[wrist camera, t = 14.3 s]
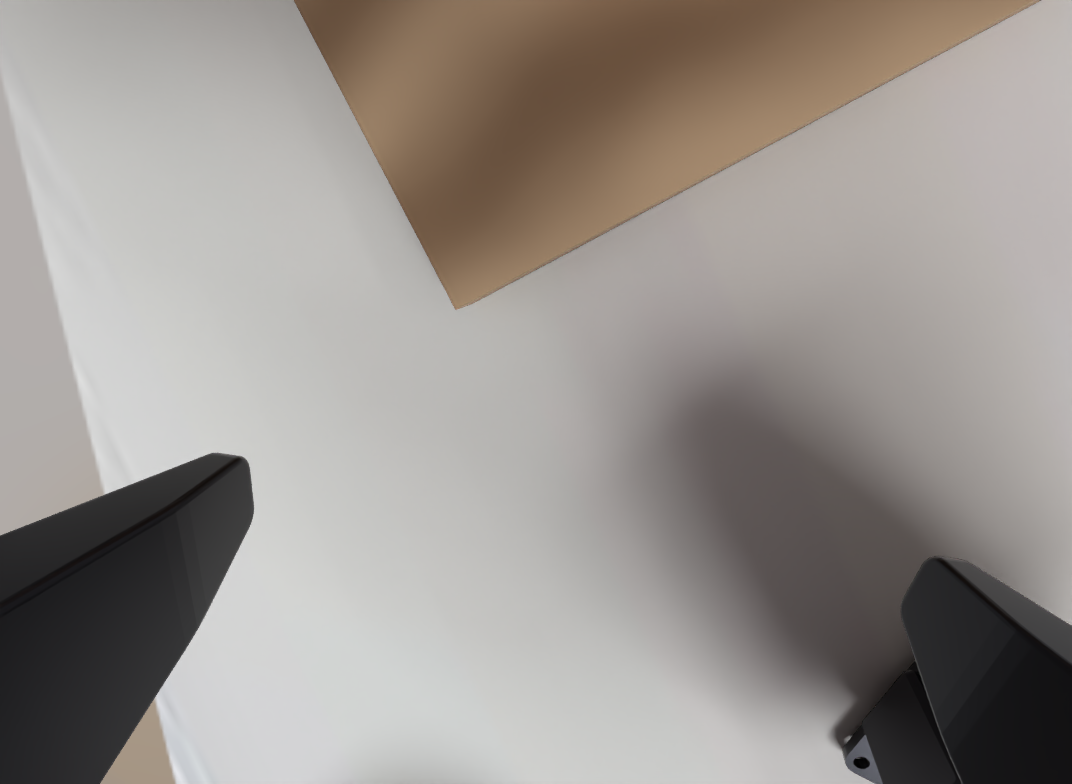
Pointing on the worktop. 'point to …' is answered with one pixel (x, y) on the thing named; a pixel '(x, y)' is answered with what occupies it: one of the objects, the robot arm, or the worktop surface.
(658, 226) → the worktop surface
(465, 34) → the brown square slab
